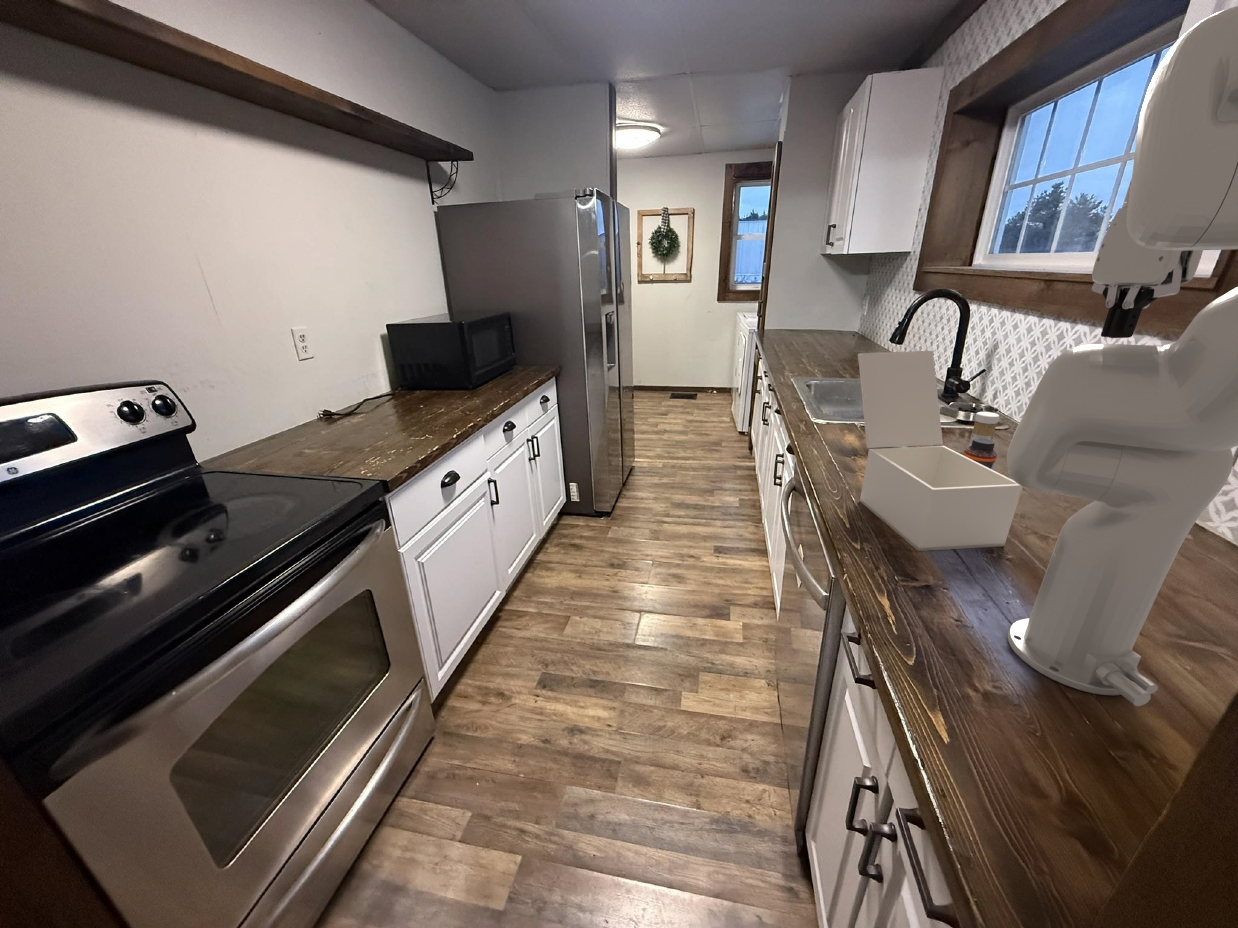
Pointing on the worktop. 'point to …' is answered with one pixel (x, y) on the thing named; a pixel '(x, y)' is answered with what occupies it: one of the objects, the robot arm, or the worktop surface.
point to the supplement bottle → (982, 452)
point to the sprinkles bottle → (984, 425)
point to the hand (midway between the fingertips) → (1115, 336)
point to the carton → (939, 497)
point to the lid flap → (900, 399)
